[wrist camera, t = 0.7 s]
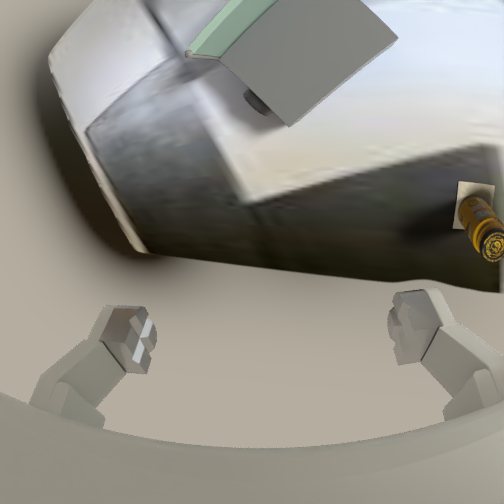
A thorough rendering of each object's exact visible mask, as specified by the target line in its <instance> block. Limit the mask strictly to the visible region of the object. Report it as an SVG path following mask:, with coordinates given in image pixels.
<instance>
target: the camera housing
mask: <svg viewBox="0 0 504 504" xmlns="http://www.w3.org/2000/svg"><path fill="white" fill-rule="evenodd" d="M397 39H398V37H397V35H396V34H395V33H394V32H393V31H392V30H391V29H390V28H389V27H388V26H387V25H386V24H385V23H384V22H383V21H382V20H381V19H380V18H379V17H378V16H377V15H376V14H375V13H373V12H372V11H371V10H370V9H369V8H368V7H367V6H366V5H365V4H364V3H362V2H361V1H360V0H278V1H277V2H276V3H275V4H274V5H273V6H272V7H270V8H269V9H268V10H267V11H266V12H265V13H264V14H263V15H262V16H261V17H260V18H259V19H258V20H257V21H256V22H255V23H254V24H253V25H251V26H250V27H249V28H248V29H247V30H246V31H245V32H244V34H243V35H242V36H241V37H240V38H239V39H238V40H237V41H236V42H235V43H234V44H233V45H232V46H231V47H230V48H229V49H228V50H227V51H226V52H225V54H224V55H223V56H222V57H221V58H220V59H219V61H220V62H221V63H223V64H224V65H225V66H226V67H227V68H228V69H229V70H230V71H231V72H233V73H234V74H235V75H236V76H237V77H238V78H239V79H240V80H241V81H242V82H243V83H245V84H246V85H247V86H248V87H249V89H248V90H247V91H246V92H245V93H244V98H245V99H246V101H247V102H248V103H249V104H250V105H251V106H252V107H253V108H254V109H255V110H257V111H258V112H259V113H261V114H263V115H265V116H269V115H270V114H271V113H272V112H274V113H275V114H276V115H277V116H278V117H279V118H280V119H281V120H282V121H283V122H284V123H285V124H286V125H287V126H288V127H290V126H292V125H293V124H295V123H297V122H298V121H300V120H301V119H302V118H303V117H304V116H305V115H306V114H308V113H309V112H310V111H311V110H312V109H313V108H315V107H316V106H317V105H318V104H319V103H320V102H322V101H323V100H324V99H325V98H326V97H328V96H329V95H330V94H331V93H332V92H334V91H335V90H336V89H337V88H338V87H340V86H341V85H342V84H343V83H345V82H346V81H347V80H348V79H350V78H351V77H352V76H353V75H355V74H356V73H357V72H358V71H360V70H361V69H362V68H363V67H365V66H366V65H367V64H369V63H370V62H371V61H372V60H374V59H375V58H376V57H378V56H379V55H380V54H382V53H383V52H384V51H386V50H387V49H388V48H390V47H391V46H392V45H393V44H394V43H395V42H396V41H397Z"/></svg>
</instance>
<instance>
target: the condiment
mask: <svg viewBox="0 0 504 504" xmlns="http://www.w3.org/2000/svg"><path fill="white" fill-rule="evenodd" d="M494 189H495V186H493V185H486V184H479V183H470V182H460V181H459V184H458V195H457V203H456V209H455V217H454V223H453V229H465V231H466V233H467V235H468V236H469V238H470V240H471V242H472V244H473V246H474V247H475V249H476V250H477V251H478V252H479V253H481V256H482V257H483V258H484V259H485V260H486V261H489V262H496V261H499V260H500V259H502V258H503V257H504V225H503V223H502V221H501V220H500V219H499V218H498V217H497V215H496V214H495V213H494V212H493V210H492V209H491V207H492V202H493V195H494ZM468 193H469V194H468ZM467 195H468V196H467Z"/></svg>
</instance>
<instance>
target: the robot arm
mask: <svg viewBox="0 0 504 504" xmlns="http://www.w3.org/2000/svg"><path fill="white" fill-rule="evenodd" d="M392 302H393V304H394V307H393V308H392V309H391V310H390V311H389V315H388V331H389V335H390V338H391V339H392V340H393V341H395V342H396V344H395V346H394V352H395V355H396V359H397V363H398V365H403V364H410V363H416V362H421V364H422V365H423V366H424V367H425V368H426V369H427V370H428V371H429V372H430V373H431V374H432V375H433V377H434V378H435V379H436V380H437V381H438V382H439V383H440V384H441V385H442V386H443V387H444V388H445V389H446V391H447V392H448V393H449V394H450V395H451V396H452V397H453V399H452V400H451V401H450V402H449V403H448V404H447V405H446V406H445V408H444V409H443V415H444V419H445V422H441V423H438V424H435V425H431V426H428V427H424V428H420V429H416V430H412V431H408V432H404V433H399V434H395V435H390V436H385V437H380V438H374V439H368V440H362V441H356V442H348V443H341V444H332V445H322V446H310V447H295V448H229V447H212V446H200V445H191V444H182V443H175V442H167V441H160V440H155V439H149V438H143V437H138V436H133V435H128V434H123V433H119V432H114V431H110V430H106V429H103V426H104V422H105V417H104V416H103V415H102V414H101V413H100V412H99V411H98V410H96V409H95V408H96V407H97V406H98V405H99V404H100V403H101V402H102V400H103V399H104V398H105V397H106V396H107V395H108V394H109V392H110V391H111V390H112V389H113V388H114V387H115V386H116V385H117V384H118V382H119V381H120V380H121V379H122V378H123V377H124V376H125V375H126V373H137V374H147V372H148V368H149V365H150V362H151V356H150V354H149V353H150V352H151V351H152V350H153V349H154V348H155V345H156V342H157V332H156V328H155V326H154V324H153V322H151V321H150V320H149V319H148V318H147V316H148V312H147V310H146V309H145V307H142V306H120V305H118V306H114V305H106V306H105V307H103V308H102V310H101V312H100V314H99V317H98V318H97V320H96V322H95V324H94V327H93V328H92V331H91V333H90V335H89V337H88V339H87V340H83V341H82V342H80V343H79V344H78V345H77V346H76V347H74V348H73V349H72V350H71V351H70V352H68V353H67V354H66V355H65V356H63V357H62V358H61V359H60V360H59V361H57V362H56V363H55V364H54V365H53V366H51V367H50V368H49V369H48V370H47V371H45V372H44V373H43V374H42V375H41V376H40V379H39V381H38V383H37V385H36V388H35V390H34V392H33V395H32V397H31V399H30V402H29V404H27V403H24V402H22V401H20V400H17V399H15V398H13V397H11V396H8V395H6V394H4V393H2V392H0V504H504V356H503V355H501V354H500V353H499V352H497V351H496V350H495V349H493V348H492V347H491V346H490V345H488V344H487V343H486V342H484V341H483V340H482V339H481V338H479V337H478V336H477V335H475V334H474V333H473V332H471V331H470V330H469V329H467V328H466V327H465V326H463V325H462V324H460V323H459V324H456V322H455V319H454V318H453V315H452V314H451V311H450V310H449V308H448V305H447V303H446V302H445V300H444V298H443V296H442V294H441V292H440V290H439V289H438V288H437V287H435V288H428V289H420V290H412V291H405V292H397V293H396V294H395V295H394V297H393V301H392Z"/></svg>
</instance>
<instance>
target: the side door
mask: <svg viewBox="0 0 504 504" xmlns="http://www.w3.org/2000/svg"><path fill="white" fill-rule="evenodd" d="M277 1H278V0H230V1H229V2H228V4H227V5H226V6H225V7H224V8H223V9H222V10H221V11H220V12H219V13H218V14H217V15H216V16H215V17H214V18H213V19H212V21H211V22H210V23H209V24H208V25H207V26H206V27H205V28H204V30H203V31H202V32H201V33H200V34H199V35H198V37H197V38H196V39H195V40H194V41H193V43H192V44H191V45H190V46H189V47H188V50H187V51H186V52H185V56H186V57H187V58H199V59H211V60H219V59H220V58H221V57H222V56H223V55H224V54H225V52H226V51H227V50H228V49H229V48H230V47H231V46H232V45H233V44H234V43H235V42H236V41H237V40H238V39H239V38H240V37H241V36H242V35H243V34H244V32H245V31H246V30H247V29H248V28H249V27H250V26H251V25H253V24H254V23H255V22H256V21H257V20H258V19H259V18H260V17H261V16H262V15H263V14H264V13H265V12H266V11H267V10H268V9H269V8H270V7H272V6H273V5H274V4H275V3H276V2H277Z"/></svg>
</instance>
